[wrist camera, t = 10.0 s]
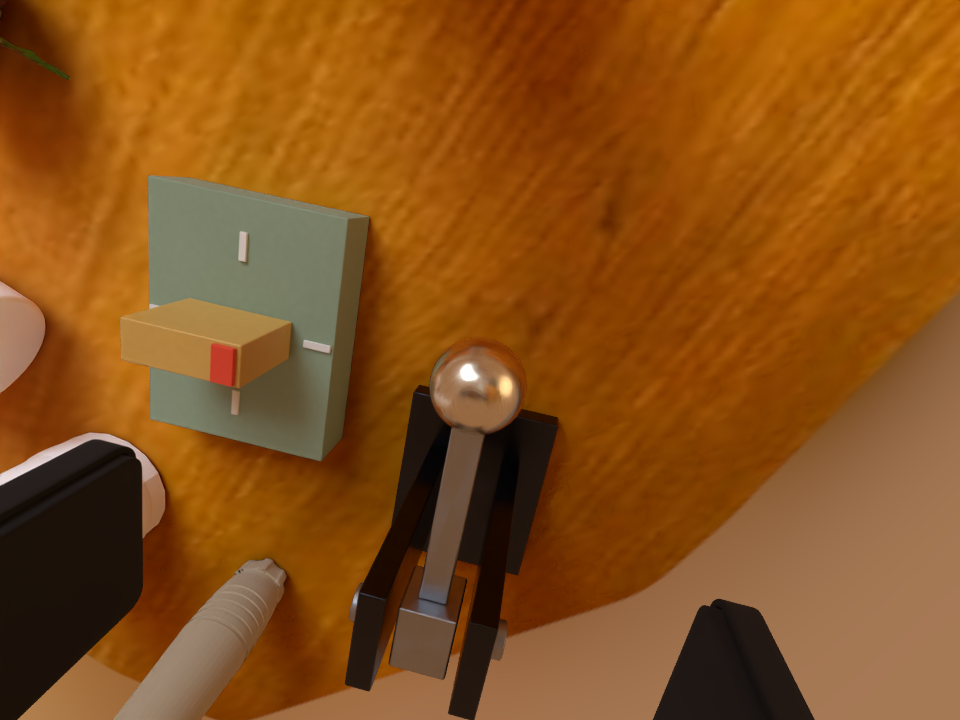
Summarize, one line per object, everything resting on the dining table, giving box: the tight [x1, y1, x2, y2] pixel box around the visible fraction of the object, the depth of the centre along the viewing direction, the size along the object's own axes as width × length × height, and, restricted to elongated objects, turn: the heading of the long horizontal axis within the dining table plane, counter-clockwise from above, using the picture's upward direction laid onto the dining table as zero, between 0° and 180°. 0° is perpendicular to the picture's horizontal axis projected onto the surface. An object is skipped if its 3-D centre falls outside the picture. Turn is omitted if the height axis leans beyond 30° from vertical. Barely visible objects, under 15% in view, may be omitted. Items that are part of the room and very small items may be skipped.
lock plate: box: [148, 176, 370, 461], centre depth 28 cm, size 13×10×3 cm
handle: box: [113, 558, 286, 720], centre depth 28 cm, size 5×6×15 cm
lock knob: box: [120, 298, 292, 388], centre depth 24 cm, size 6×2×5 cm, turn 79°
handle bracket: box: [345, 385, 558, 720], centre depth 25 cm, size 10×8×13 cm
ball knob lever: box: [389, 338, 527, 680], centre depth 19 cm, size 13×3×3 cm, turn 169°
